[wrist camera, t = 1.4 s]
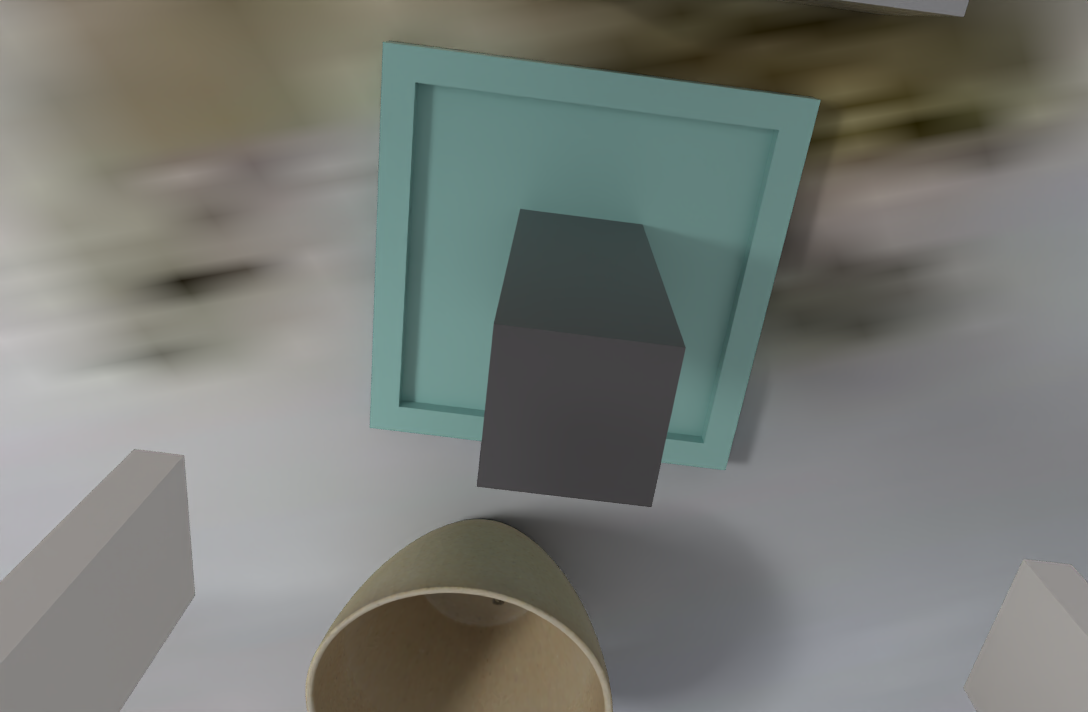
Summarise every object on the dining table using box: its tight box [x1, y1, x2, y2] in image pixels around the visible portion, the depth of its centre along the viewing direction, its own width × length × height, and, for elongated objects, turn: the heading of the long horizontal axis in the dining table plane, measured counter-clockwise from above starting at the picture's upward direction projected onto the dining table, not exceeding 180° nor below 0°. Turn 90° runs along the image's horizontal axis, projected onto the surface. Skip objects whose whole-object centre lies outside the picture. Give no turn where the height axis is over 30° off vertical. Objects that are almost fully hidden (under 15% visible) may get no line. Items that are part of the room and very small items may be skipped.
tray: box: [370, 41, 821, 470], centre depth 26 cm, size 13×13×1 cm
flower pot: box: [306, 519, 613, 712], centre depth 28 cm, size 10×10×7 cm
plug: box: [477, 209, 686, 507], centre depth 21 cm, size 4×4×10 cm
